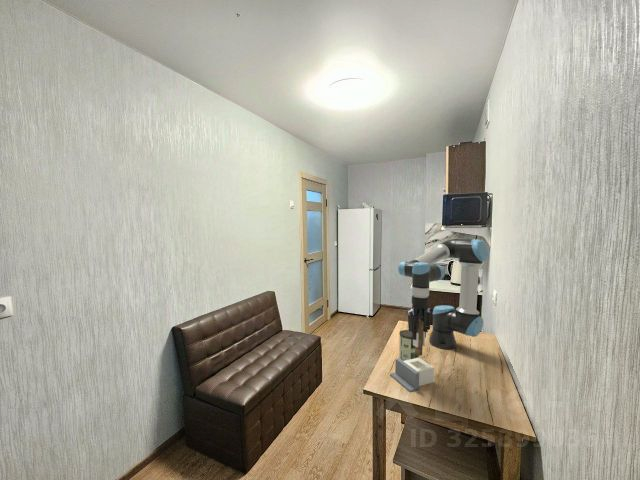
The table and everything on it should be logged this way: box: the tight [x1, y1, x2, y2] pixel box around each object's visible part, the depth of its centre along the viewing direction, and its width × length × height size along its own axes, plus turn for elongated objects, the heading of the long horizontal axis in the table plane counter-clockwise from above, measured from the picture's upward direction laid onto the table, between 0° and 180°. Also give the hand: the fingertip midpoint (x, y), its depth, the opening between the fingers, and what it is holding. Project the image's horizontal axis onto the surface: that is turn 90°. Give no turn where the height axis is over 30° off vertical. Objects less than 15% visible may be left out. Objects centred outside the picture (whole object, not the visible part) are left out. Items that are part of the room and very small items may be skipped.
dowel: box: [415, 319, 424, 356], centre depth 126 cm, size 3×3×16 cm
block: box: [403, 357, 435, 387], centre depth 127 cm, size 10×10×7 cm
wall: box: [389, 357, 420, 393], centre depth 124 cm, size 5×14×8 cm, turn 21°
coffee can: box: [398, 329, 420, 361], centre depth 146 cm, size 10×10×14 cm
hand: (418, 345), depth 126 cm, fingers closed on dowel, 3 cm apart
